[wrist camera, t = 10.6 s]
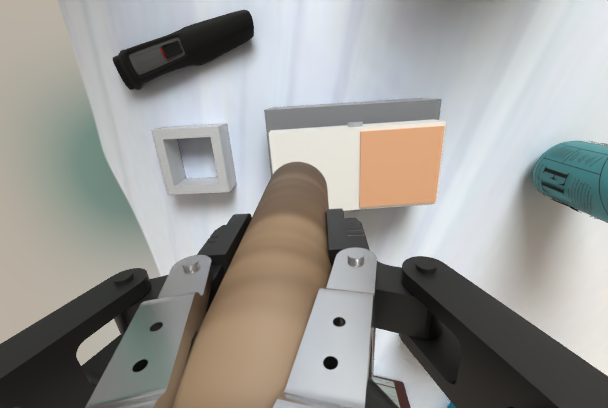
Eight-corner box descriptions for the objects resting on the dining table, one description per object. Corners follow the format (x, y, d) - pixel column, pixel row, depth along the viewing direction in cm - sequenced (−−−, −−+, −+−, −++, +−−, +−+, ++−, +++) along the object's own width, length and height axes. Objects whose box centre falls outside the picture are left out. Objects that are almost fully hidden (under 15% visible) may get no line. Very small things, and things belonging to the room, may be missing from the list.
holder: (166, 127, 32) (151, 130, 29) (227, 123, 32) (218, 126, 29) (179, 186, 35) (167, 194, 32) (236, 184, 34) (229, 192, 32)
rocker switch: (269, 126, 24) (268, 129, 21) (434, 115, 24) (448, 117, 22) (278, 209, 26) (277, 219, 24) (425, 199, 27) (437, 208, 24)
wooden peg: (264, 164, 17) (84, 453, 4) (325, 159, 16) (350, 457, 4) (272, 217, 18) (162, 557, 5) (328, 214, 18) (354, 566, 5)
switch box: (272, 107, 31) (260, 111, 24) (422, 98, 30) (450, 99, 23) (281, 193, 34) (271, 216, 28) (414, 187, 33) (437, 211, 27)
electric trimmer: (264, 46, 29) (258, 40, 26) (134, 93, 31) (115, 92, 28) (251, 5, 28) (244, -6, 25) (117, 56, 30) (95, 52, 27)
